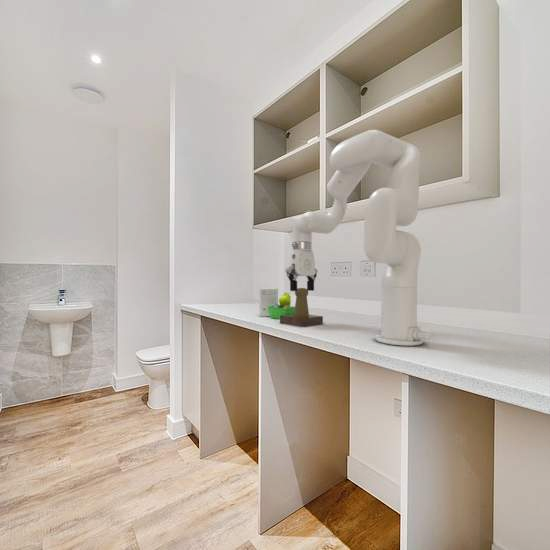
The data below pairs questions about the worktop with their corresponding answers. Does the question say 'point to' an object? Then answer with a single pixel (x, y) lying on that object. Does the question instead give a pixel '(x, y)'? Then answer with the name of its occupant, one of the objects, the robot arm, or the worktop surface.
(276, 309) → the fruit basket
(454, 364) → the worktop surface
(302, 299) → the olive tapered cylinder
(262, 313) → the small box
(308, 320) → the block
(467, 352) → the worktop surface
